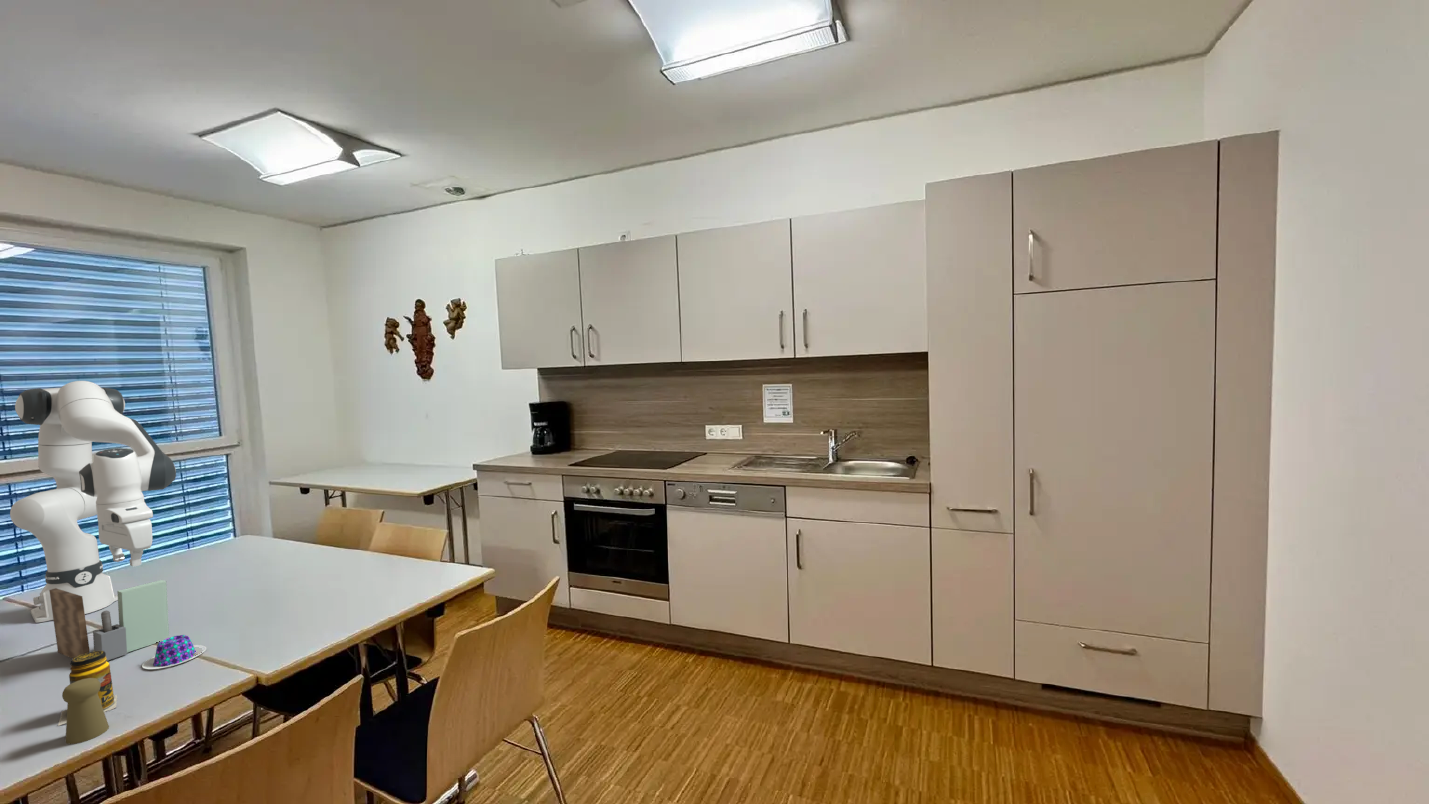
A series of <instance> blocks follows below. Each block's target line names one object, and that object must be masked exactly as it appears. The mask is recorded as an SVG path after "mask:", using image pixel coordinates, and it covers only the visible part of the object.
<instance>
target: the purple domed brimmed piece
mask: <svg viewBox="0 0 1429 804" xmlns="http://www.w3.org/2000/svg"><path fill="white" fill-rule="evenodd" d="M194 647H199V648H202V650H203V651H202V653H200V654H198V655H196V654H194V653H195V652H197V651H196V650H195V648H194ZM155 650H156V651H155V653H154V656H153V657H151V658H149V659H147V660H145V662H143V663H142V666H141V667H142V668H143V669H145V670H159V669H164V668H171V667H173V666H177V665H180V664H183V663H186V662H188V661H190V660H192V659H195V658H197V657H199V656H200V655H202V654H203V653H204V652H205V651H206V650H207V647H206V646H205V645H202V644H193V643H192V639H191V638H190V637H189V635H186V634H180V635H173V636H171V637H170V636H169V638H167V639H164V640H163V641H161V642H158V643H157V645H156V649H155ZM193 654H194V655H193ZM195 655H196V656H195ZM189 658H190V659H189Z"/></svg>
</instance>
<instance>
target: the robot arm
mask: <svg viewBox="0 0 1429 804" xmlns="http://www.w3.org/2000/svg"><path fill="white" fill-rule="evenodd" d="M17 397H18V398H16V401H15V404H14V408H15V409H14V410H15V413H16V415H17V416H18V418H19V420H20V421H21V422H23V423H24V424H27V425H35V426H37V425H38V426H39V429H38V430H39V431H38V438H37V439H38V441H37V445H38V447H37V449H38V452H37V453H38V455H37V456H38V457H37V458H38V462H37V463H38V469H39V471H40V472H41V473H43V474H45V475H48V476H51V477H52V478H53V479H54V481H55V484H56V488H54V489H49V490H46V491H40V492H35V493H33V494H30V495H28V496H26V497H23V498H20V499H19V500H17V501H15V502H14V503H13V504H12V506H11V508H10V512H9V515H10V516H9V517H10V520H11V522H12V523H13V524H14V525H15V526H16V527H17V528H19V529H21V530H24V531H27V532H29V533H31V534H32V535H33V536H34V537H35V538H36V539H37V540H38V542H39V543H40V544H41V547H42V549H43V553H44V559H45V563H46V569H47V570H46V571H45V576H44V579H45V581H44V582H45V583H46V584H45V585H44V587H43V588H42V590H41V591H40V592H39V595H38V596H35V597H33V598H32V599H33V605H35V606H36V607H34V608H32V609H31V610H30V615H31V616H32V618H33V620H34V623H36V624H37V623H44V622H48V621H54V620H53V613H52V606H51V598H50V591H49V590H51V589H55V588H57V589H60V590H63V591H67V592H70V593H73V594H76V595H80V596H82V598H83V605H84V613H85V615H87V614H90V613H94V612H97V611H99V610H101V609H105V608H107V607H109V606H110V605H112V604H113V603H115V602H118V594H115V593H114V590H113V584H112V579H111V576H110V575H107V574H105V573H103V572H104V565H103V561H102V560H100V553H99V546H98V545H99V544H98V540H99V542H100V544H101V545H106V546H108V548H109V551H110V553H111V556H112V560H113V562H115V563H119V562H123V561H125V553H123V550H126V551H129V554H130V559H129V565H130V566H131V567H134V568H135V567H138V566H141V565H142V563H143V562H142V556H143V554H144V550H147V549H151V547H152V546H153V545H152V544H153V527H152V526H153V524H152V521H151V519H152V518H154V513H153V510H152V509H151V508H150V507H149V506H148V505H147V503H146V502H145V495H144V493H143V492H144V491H145V492H146V491H148V492H149V491H151V492H152V491H161V490H164V489H166V488H167V487H168V486H170V485H171V484H172V483H173V482H174V481H175V480H176V478H177V470H176V466H175V464H174V462H173V460H172V459H171V457H170V456H169V455H168V454H166V453H165V452H163V450H162V449H161V448H160V447H159V446H158V445H157V443H156V442H155V441H154V439H153V438H152V437H151V436H150V434H149V433H148V432H147V430H146V429H145V428H144V426H142V424H140V422H139V421H137V420H136V419H135V418H132V417H131V418H130V417H127V416H126V415H123V414H124V411H125V409H126V402H125V398H124V397H123V394H122V392H120V391H119V390H117V389H115V388H110V387H101V386H100V385H99V384H97V383H95V382H92V381H88V380H75V381H70V382H68V383H66V384H64V385H62V386H61V387H55V388H54V387H53V388H51V387H50V388H41V387H38V388H31V389H27V390H24V391H22V392H21V393H19V395H18V396H17ZM93 442H94V443H108V444H109V443H110V444H118V445H119V444H120V445H124V446H126V447H129V448H126V447H125V448H121V447H120V448H119V447H117V448H108V449H103V450H100V451H97V452H96V453H94V455H93V449H92V448H93V445H92V444H93ZM94 516H96V517H97V518H96V519H97V528H98V540H97V538H96V536H94V534H91V533H87V532H84V531H83V530H82V529H81V528H80V526H79V523H78V521H79V520H83V519H84V520H85V519H87V518H90V517H94ZM37 605H40V606H37Z"/></svg>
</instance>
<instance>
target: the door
mask: <svg viewBox="0 0 1429 804" xmlns="http://www.w3.org/2000/svg"><path fill="white" fill-rule="evenodd" d="M167 585H168V584H167V581H166V580H164V579H158V580H155V581H152V582H147V583H144V584H140V585H136V586H133V587H128V588H124V589H119V590H117V595H118V600H117V607H118V623H119V624H118V623H117V624H116V623H115V624H114V625H113V624H112V631H109V632H105V633H103V627H102V628H98V629H96V630H93V631H92V636H93V637H92V638H93V651H104V652H105V653H106V659H107V660H109V661H111V660H110V659H112V660H114V659H113V658H115V659H117V658H116V657H118V658H120V657H122V656H126V655H128V653H130V652H132V651H136V650H139V649H142V648H145V647H148V646H152V645H154V644H157V643H156V642H158V643H159V641H162V640H164V639H167V638H170V629H169V628H170V627H169V625H170V624H169V623H170V622H169V609H168V608H169V606H168V589H167V588H168V587H167ZM119 656H120V657H119ZM107 660H106V661H107ZM107 662H108V661H107Z"/></svg>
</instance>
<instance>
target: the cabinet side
mask: <svg viewBox="0 0 1429 804" xmlns="http://www.w3.org/2000/svg"><path fill="white" fill-rule="evenodd" d="M49 591H50V598H51V606H52V613H53V620H52V621H53V625H54V634H55V642H56V647H57V653H59V655H64V656H65V657H68V658H71V660H72V659H74V658H75V657H77V656H79V655H82V654H85V653H88V652H91V650H90V643H89V635H88V629H87V621H86V614H85V613H84V605H83V598H82V596H80V595H76V594H73V593H70V592H67V591H63V590H60V589H57V588H55V589H51V590H49ZM100 618H101V625H102V628H103V633H105V632H109V631H112V626H113V624H112V617H111V611H110V610H103V611H102V612H101V613H100ZM120 657H121V656H119V657H118V658H120ZM118 658H117V657H116V658H113V659H110V660H107V662H109V661H112V660H115V659H118Z"/></svg>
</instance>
